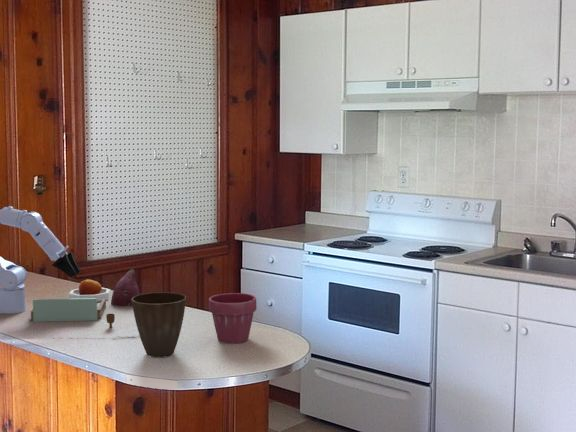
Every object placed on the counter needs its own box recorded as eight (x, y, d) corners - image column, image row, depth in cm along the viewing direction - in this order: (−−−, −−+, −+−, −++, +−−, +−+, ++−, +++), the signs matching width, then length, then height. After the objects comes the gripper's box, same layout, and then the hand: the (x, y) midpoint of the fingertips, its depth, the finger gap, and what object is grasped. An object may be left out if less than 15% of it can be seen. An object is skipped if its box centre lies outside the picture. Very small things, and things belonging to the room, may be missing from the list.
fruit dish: (67, 302, 280) (67, 295, 279) (73, 294, 293) (73, 287, 293) (107, 301, 281) (107, 295, 281) (111, 293, 295) (111, 286, 295)
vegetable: (142, 312, 280) (153, 271, 280) (133, 315, 270) (145, 273, 269) (114, 304, 281) (125, 263, 281) (105, 307, 271) (116, 265, 270)
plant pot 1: (122, 353, 220) (121, 297, 218) (165, 343, 230) (165, 289, 228) (153, 365, 209) (152, 306, 207) (197, 354, 220) (197, 297, 218)
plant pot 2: (203, 335, 238) (203, 294, 237) (248, 331, 243) (247, 290, 242) (216, 348, 225) (216, 304, 224) (262, 343, 230) (262, 300, 228)
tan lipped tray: (31, 324, 250) (30, 311, 250) (40, 312, 266) (40, 300, 266) (100, 322, 253) (100, 309, 252) (106, 310, 269) (105, 298, 268)
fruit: (71, 296, 283) (77, 276, 286) (81, 303, 290) (87, 283, 293) (91, 298, 280) (96, 277, 284) (101, 305, 287) (106, 284, 291)
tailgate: (33, 321, 249) (32, 300, 248) (34, 320, 250) (33, 299, 249) (96, 320, 251) (96, 298, 250) (97, 319, 252) (96, 297, 251)
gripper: (54, 236, 253) (81, 269, 254) (62, 234, 267) (88, 265, 268) (36, 250, 252) (64, 282, 253) (46, 247, 267) (72, 278, 268)
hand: (75, 274), depth 261 cm, fingers open, 7 cm apart
